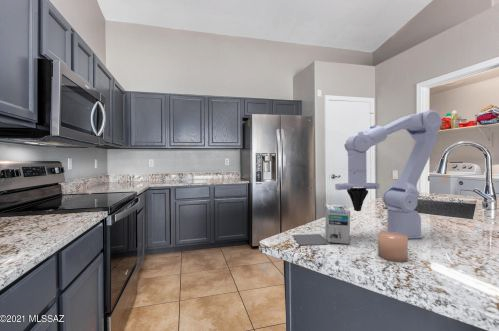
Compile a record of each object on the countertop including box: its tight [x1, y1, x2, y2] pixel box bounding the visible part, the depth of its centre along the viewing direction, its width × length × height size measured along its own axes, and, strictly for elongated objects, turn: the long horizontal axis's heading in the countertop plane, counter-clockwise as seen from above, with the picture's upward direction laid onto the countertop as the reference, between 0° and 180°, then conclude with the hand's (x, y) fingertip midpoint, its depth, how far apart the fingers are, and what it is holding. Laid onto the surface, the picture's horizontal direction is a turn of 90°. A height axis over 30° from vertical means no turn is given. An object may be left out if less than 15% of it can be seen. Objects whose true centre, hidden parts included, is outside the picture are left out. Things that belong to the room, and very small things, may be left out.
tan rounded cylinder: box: [377, 231, 409, 263], centre depth 67 cm, size 7×7×6 cm
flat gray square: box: [291, 233, 332, 247], centre depth 81 cm, size 10×10×1 cm
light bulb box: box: [324, 203, 351, 245], centre depth 82 cm, size 11×7×11 cm, turn 168°
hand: (357, 210), depth 82 cm, fingers closed
